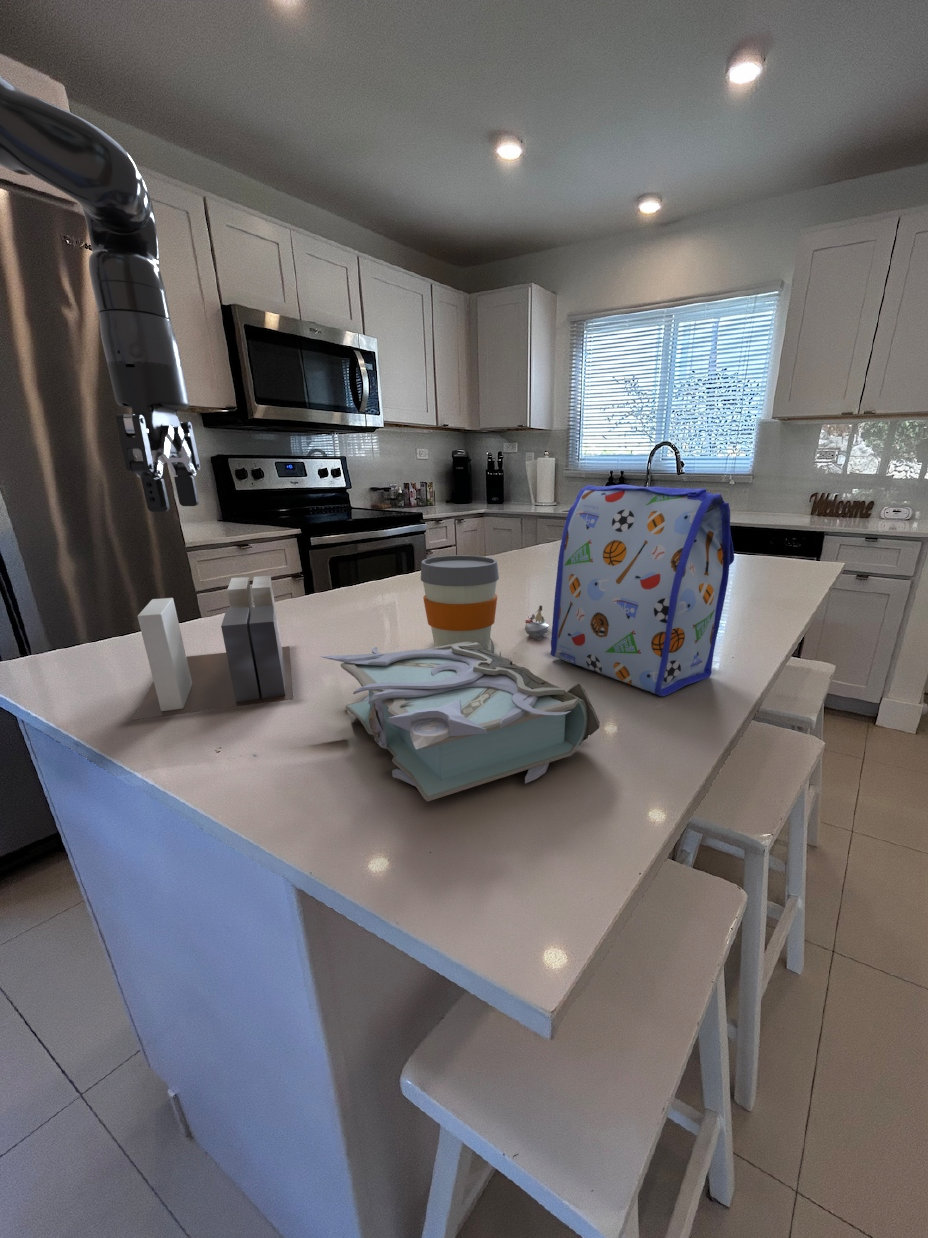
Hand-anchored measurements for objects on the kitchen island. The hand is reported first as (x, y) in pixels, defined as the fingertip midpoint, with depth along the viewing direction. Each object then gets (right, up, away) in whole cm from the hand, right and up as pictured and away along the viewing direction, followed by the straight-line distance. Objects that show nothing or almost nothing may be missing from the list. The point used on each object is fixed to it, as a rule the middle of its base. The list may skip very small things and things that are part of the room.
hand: (175, 508), depth 72 cm
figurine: (+47, -14, +31) cm, 58 cm away
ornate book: (+36, -28, -6) cm, 46 cm away
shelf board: (+2, -22, +9) cm, 24 cm away
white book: (0, -24, +1) cm, 24 cm away
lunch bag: (+61, -20, +16) cm, 67 cm away
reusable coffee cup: (+34, -17, +24) cm, 45 cm away
